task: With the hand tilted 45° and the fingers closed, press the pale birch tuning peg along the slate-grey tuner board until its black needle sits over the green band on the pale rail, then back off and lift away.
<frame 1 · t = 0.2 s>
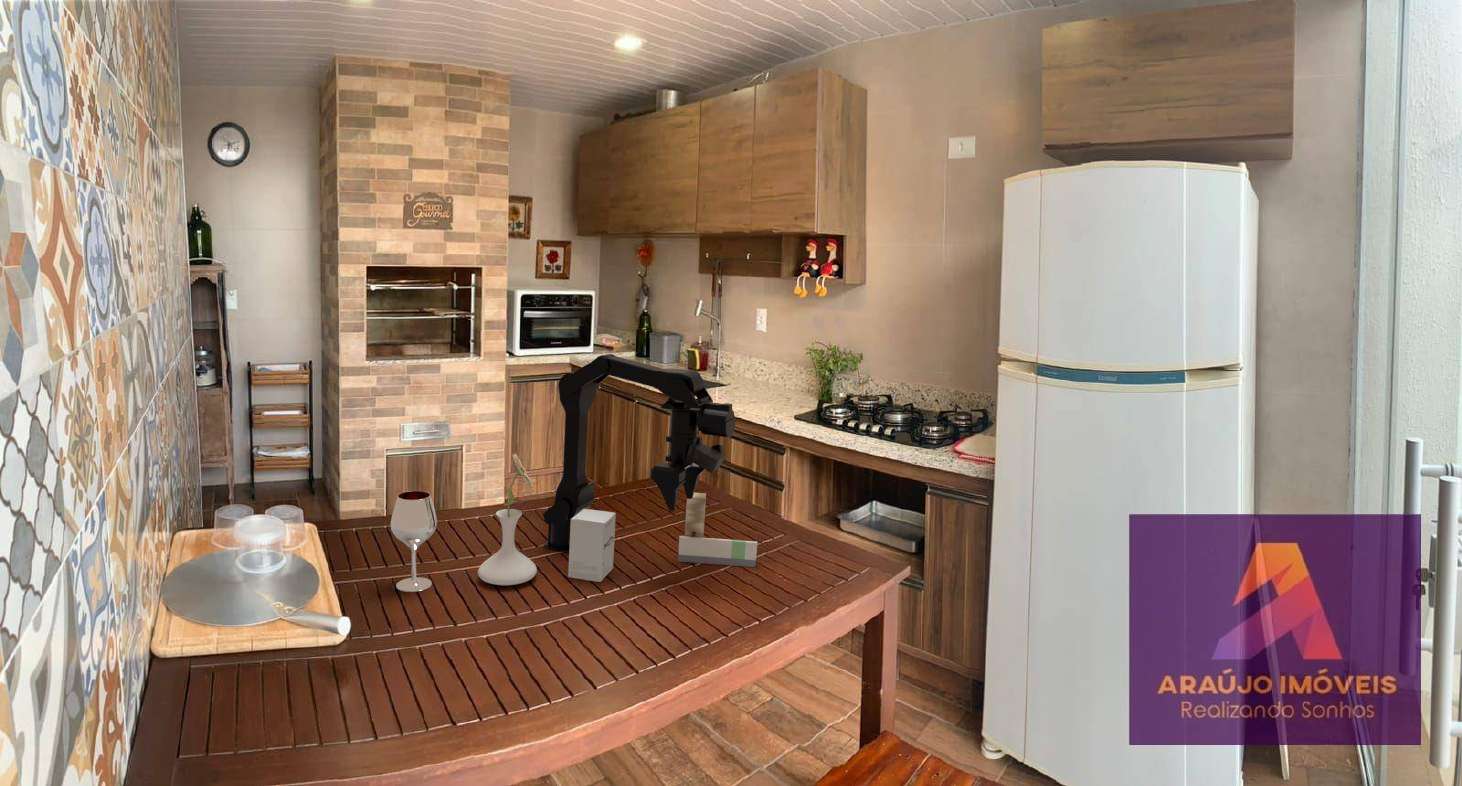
hand: (680, 504, 168), 15 cm above the table, tool pointing down, fingers open, 9 cm apart
tuner board: (717, 557, 180), on the table
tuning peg: (694, 523, 177), point 8 cm above the table, slide at 0.0 cm
flower in vase: (508, 578, 161), on the table
supplement box: (590, 574, 166), on the table
wineglass: (413, 586, 155), on the table
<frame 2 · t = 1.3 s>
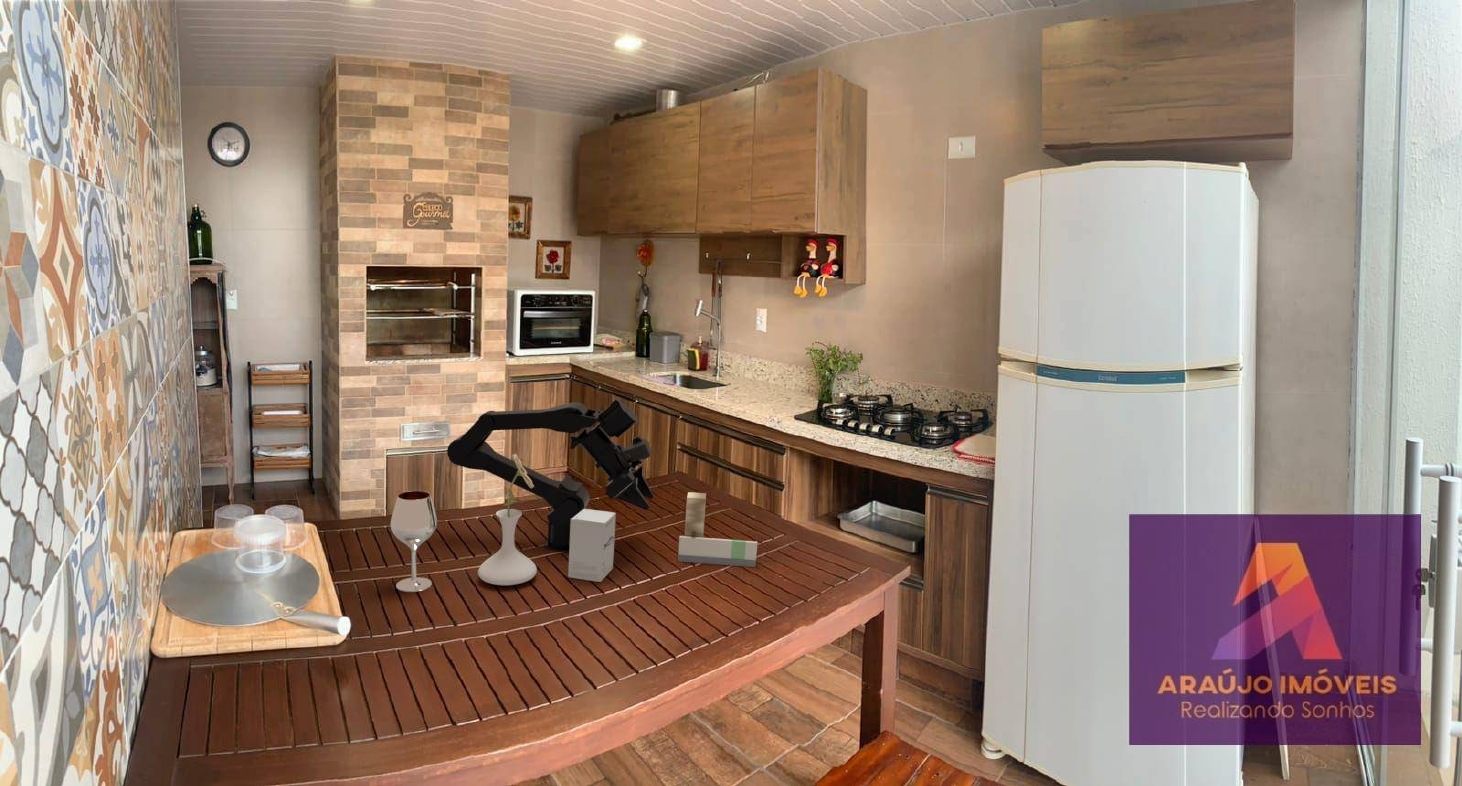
hand: (650, 503, 178), 11 cm above the table, tool tilted 45°, fingers open, 7 cm apart
nothing on the table moved.
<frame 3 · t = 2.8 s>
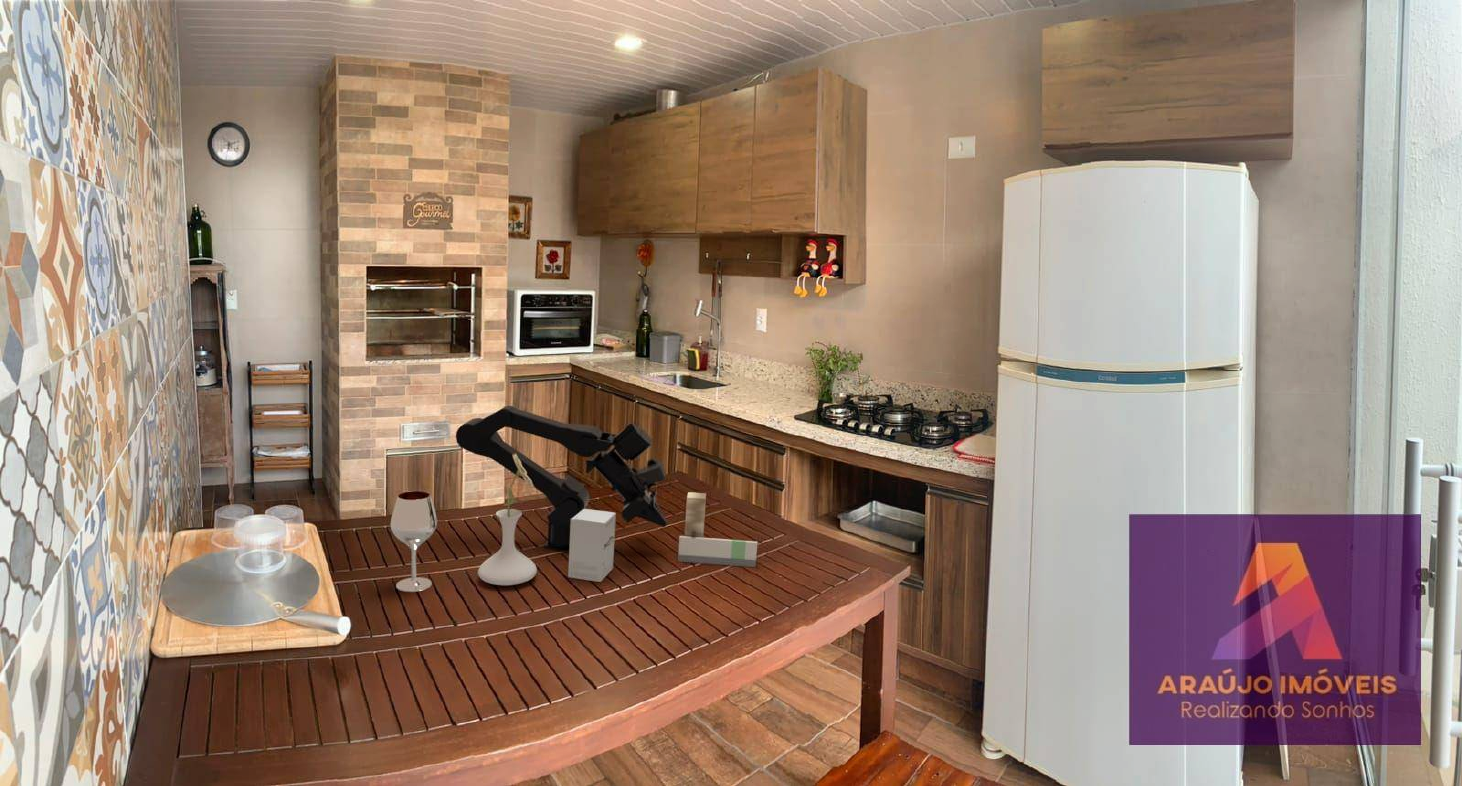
hand: (665, 525, 179), 7 cm above the table, tool tilted 45°, fingers closed
nothing on the table moved.
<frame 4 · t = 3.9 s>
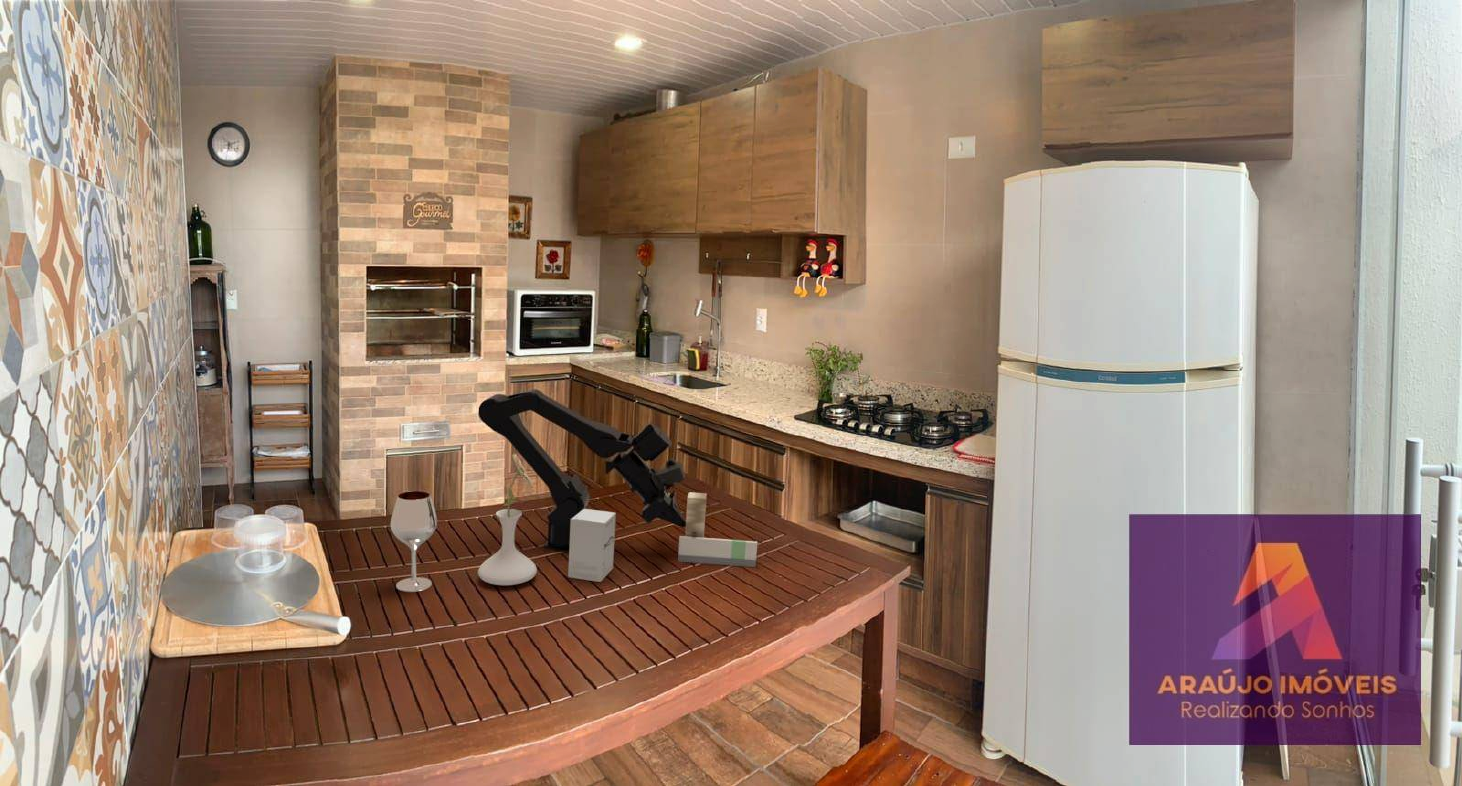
hand: (685, 525, 179), 7 cm above the table, tool tilted 45°, fingers closed, pressing on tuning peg
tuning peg: (695, 523, 177), point 8 cm above the table, slide at 0.1 cm, touching gripper
everything else where it was.
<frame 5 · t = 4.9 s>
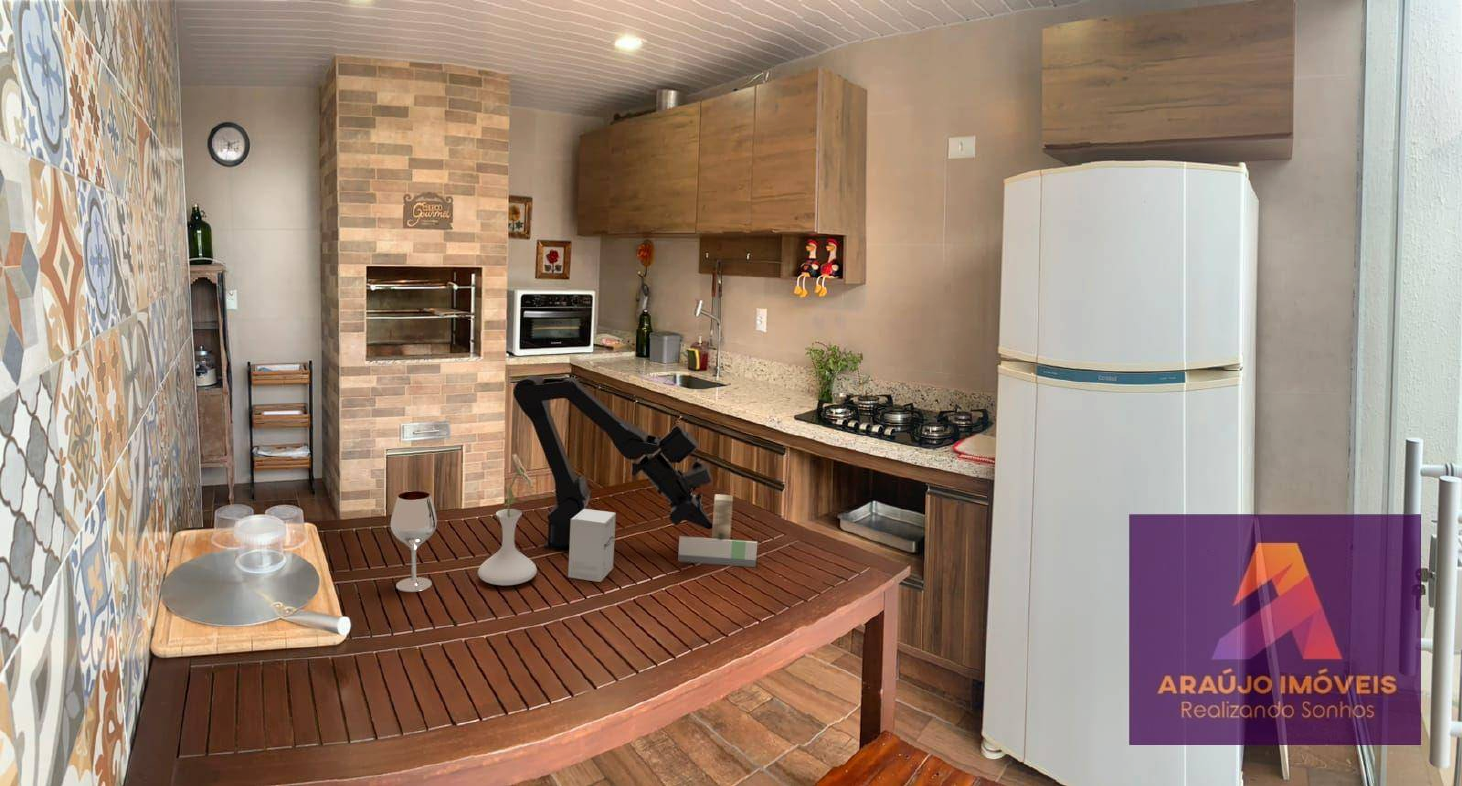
hand: (711, 527, 179), 7 cm above the table, tool tilted 45°, fingers closed, pressing on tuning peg
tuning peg: (721, 525, 177), point 8 cm above the table, slide at 6.0 cm, touching gripper
everything else where it was.
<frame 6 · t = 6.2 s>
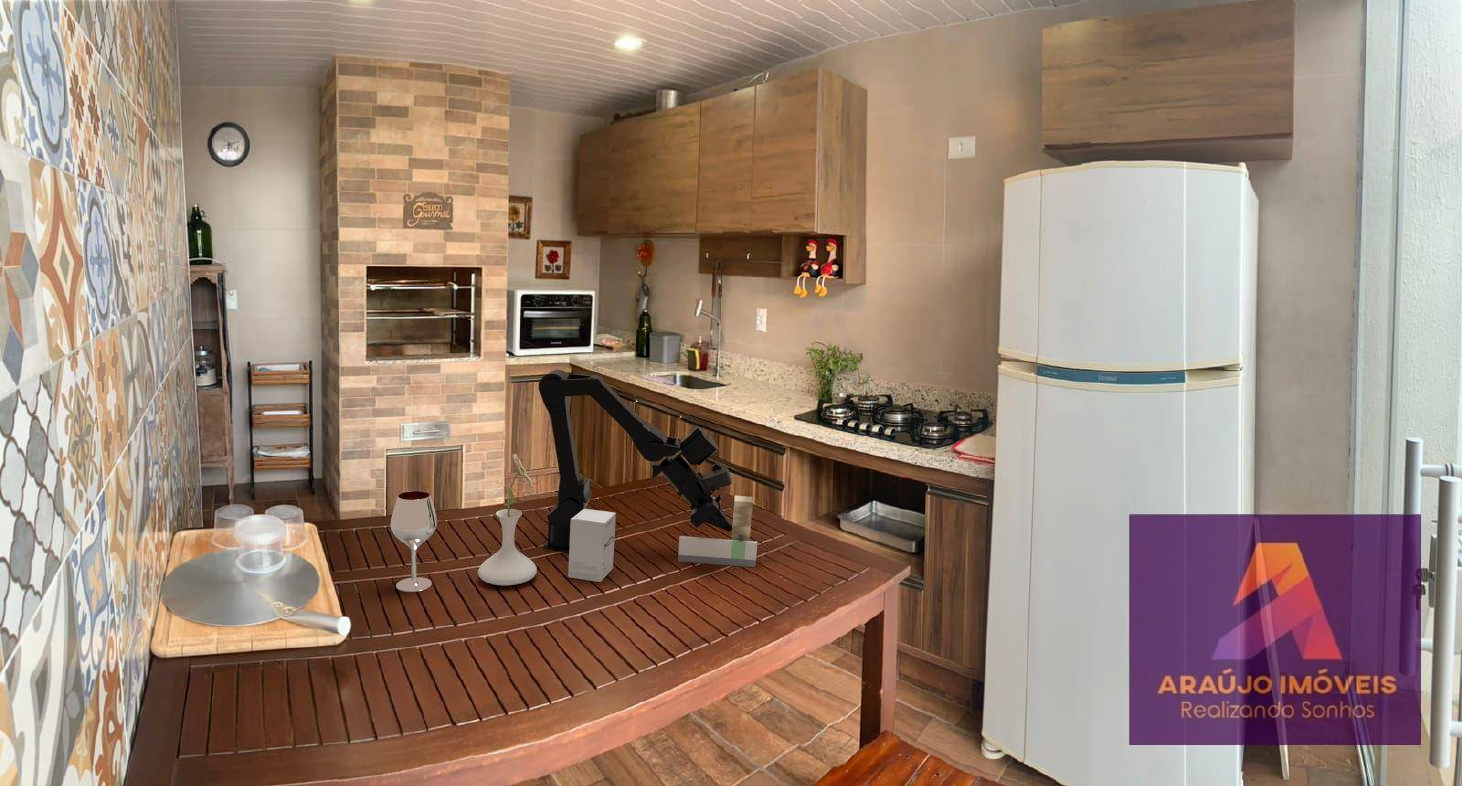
hand: (730, 530, 179), 7 cm above the table, tool tilted 45°, fingers closed, pressing on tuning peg
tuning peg: (741, 526, 177), point 8 cm above the table, slide at 10.3 cm, touching gripper
everything else where it was.
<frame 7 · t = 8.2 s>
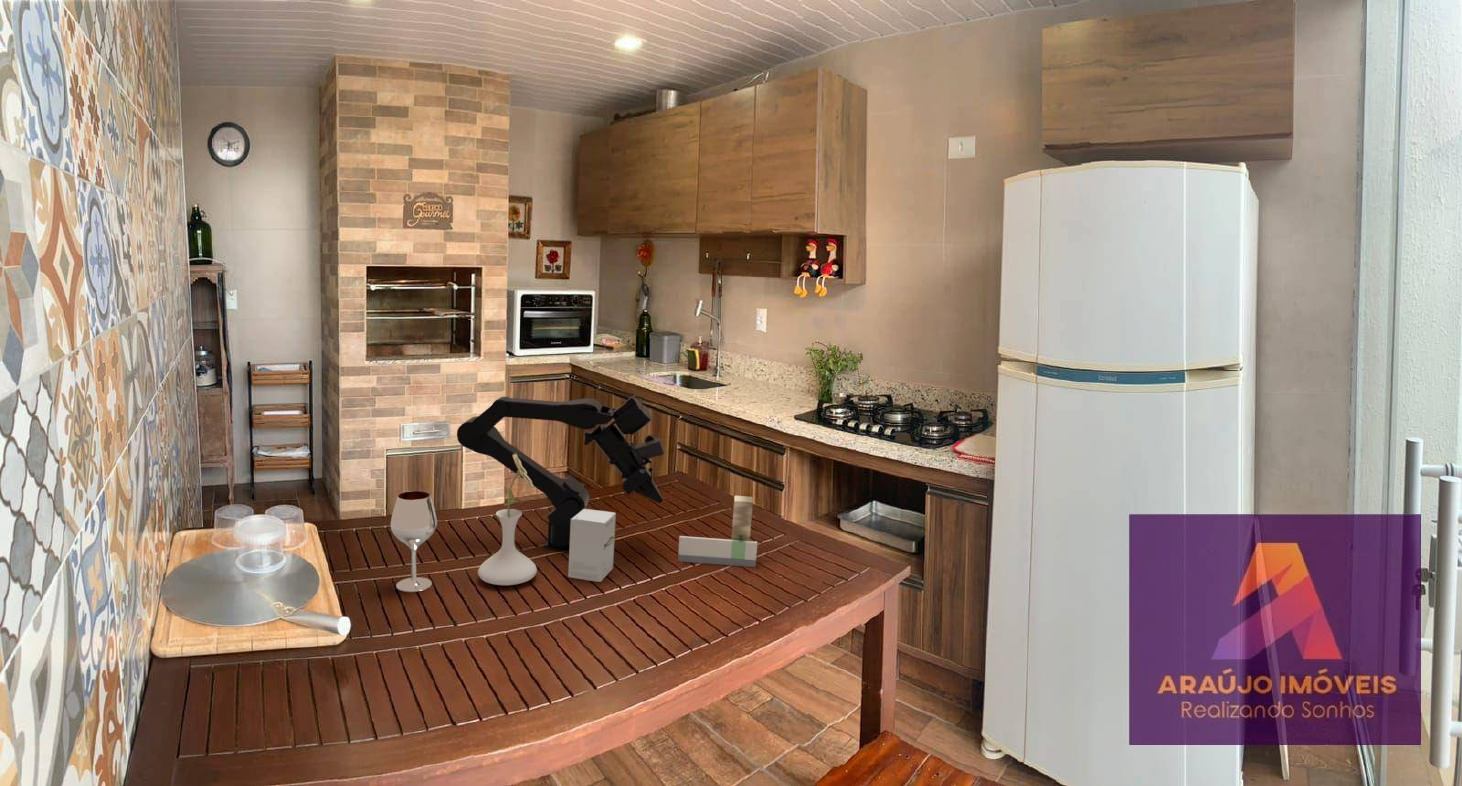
hand: (661, 501, 178), 12 cm above the table, tool tilted 40°, fingers closed
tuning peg: (741, 526, 177), point 8 cm above the table, slide at 10.4 cm
everything else where it was.
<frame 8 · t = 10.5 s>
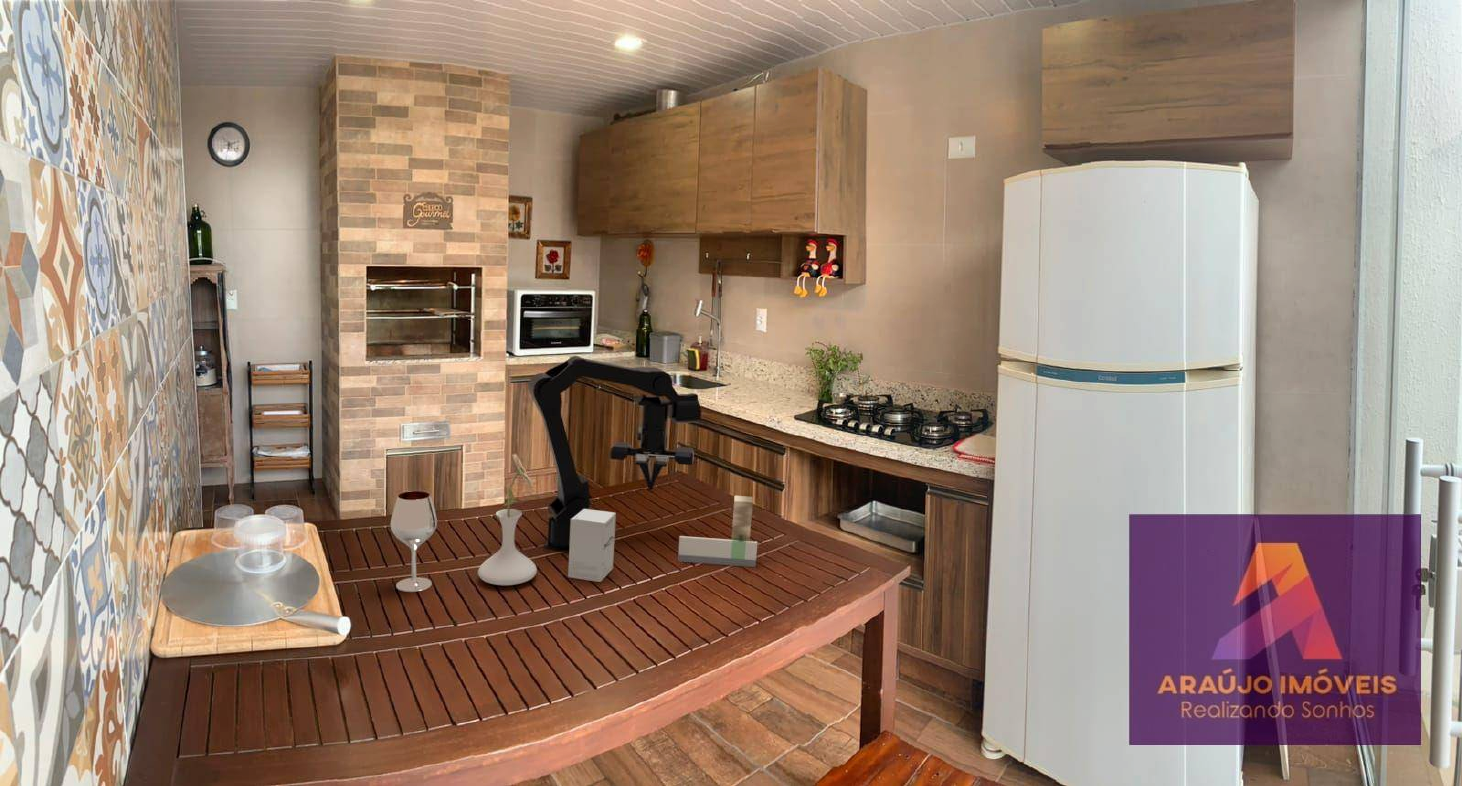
hand: (650, 489, 186), 12 cm above the table, tool pointing down, fingers closed
nothing on the table moved.
at the end: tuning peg slide at 10.4 cm; the gripper is holding nothing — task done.
